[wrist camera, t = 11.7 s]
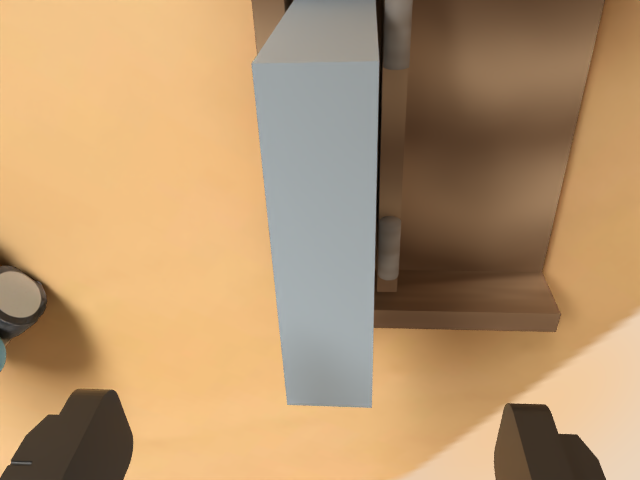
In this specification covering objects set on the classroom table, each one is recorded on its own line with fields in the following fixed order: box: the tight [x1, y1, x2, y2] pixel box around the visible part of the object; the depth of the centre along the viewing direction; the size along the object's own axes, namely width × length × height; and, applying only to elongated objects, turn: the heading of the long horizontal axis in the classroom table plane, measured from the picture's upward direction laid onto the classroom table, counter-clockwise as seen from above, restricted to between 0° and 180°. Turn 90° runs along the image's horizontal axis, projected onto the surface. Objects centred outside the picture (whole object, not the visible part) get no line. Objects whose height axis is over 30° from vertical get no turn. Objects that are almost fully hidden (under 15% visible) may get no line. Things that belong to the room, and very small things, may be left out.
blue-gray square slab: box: [252, 0, 379, 408], centre depth 21 cm, size 12×3×12 cm, turn 2°
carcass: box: [252, 0, 605, 332], centre depth 24 cm, size 20×14×5 cm
